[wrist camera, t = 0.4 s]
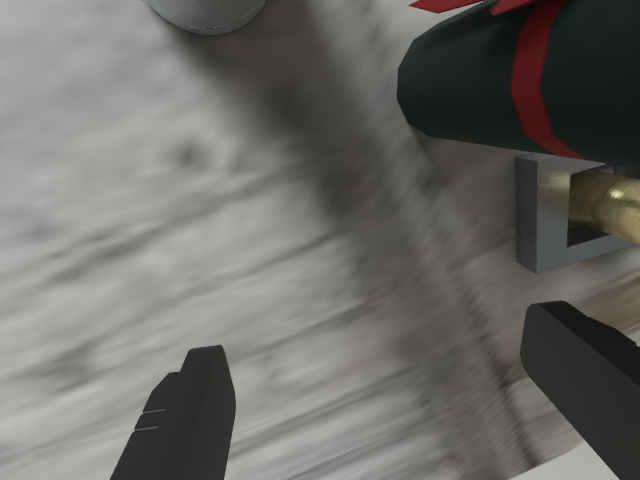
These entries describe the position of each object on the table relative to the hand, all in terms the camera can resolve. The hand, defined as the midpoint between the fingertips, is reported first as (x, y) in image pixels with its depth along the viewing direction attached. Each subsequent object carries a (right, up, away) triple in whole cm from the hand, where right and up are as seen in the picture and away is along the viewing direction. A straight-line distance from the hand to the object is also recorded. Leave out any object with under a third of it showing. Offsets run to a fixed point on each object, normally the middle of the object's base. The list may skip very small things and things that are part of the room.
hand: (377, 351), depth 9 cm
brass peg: (+22, +7, +22) cm, 31 cm away
